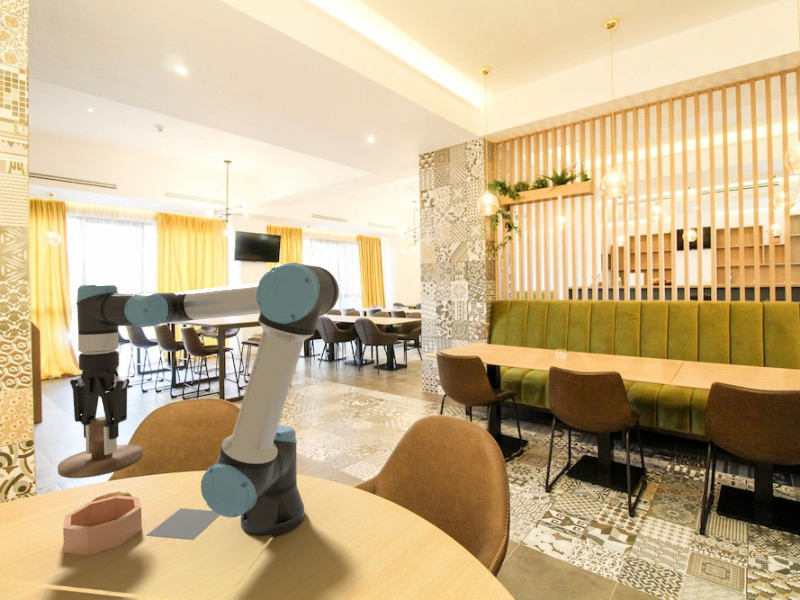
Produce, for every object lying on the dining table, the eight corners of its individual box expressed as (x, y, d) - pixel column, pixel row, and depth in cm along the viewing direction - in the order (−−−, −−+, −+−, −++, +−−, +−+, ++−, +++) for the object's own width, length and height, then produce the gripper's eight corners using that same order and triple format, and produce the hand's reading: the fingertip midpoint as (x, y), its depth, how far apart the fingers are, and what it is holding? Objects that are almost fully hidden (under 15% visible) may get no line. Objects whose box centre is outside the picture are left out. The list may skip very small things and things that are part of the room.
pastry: (83, 512, 109) (83, 498, 109) (104, 499, 115) (104, 486, 115) (116, 514, 107) (115, 500, 107) (135, 501, 114) (135, 487, 114)
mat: (223, 513, 107) (223, 511, 107) (193, 542, 95) (193, 539, 95) (180, 510, 109) (180, 508, 109) (146, 537, 97) (146, 535, 97)
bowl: (154, 522, 103) (154, 498, 103) (105, 559, 89) (104, 531, 89) (103, 517, 106) (102, 494, 105) (47, 553, 91) (46, 526, 91)
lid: (158, 451, 104) (157, 410, 104) (103, 480, 88) (102, 432, 88) (101, 447, 106) (100, 407, 106) (38, 475, 90) (36, 428, 90)
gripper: (144, 349, 99) (146, 447, 99) (81, 348, 101) (83, 444, 102) (118, 354, 91) (121, 460, 92) (51, 353, 94) (54, 456, 94)
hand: (101, 451), depth 97 cm, fingers closed on lid, 4 cm apart
